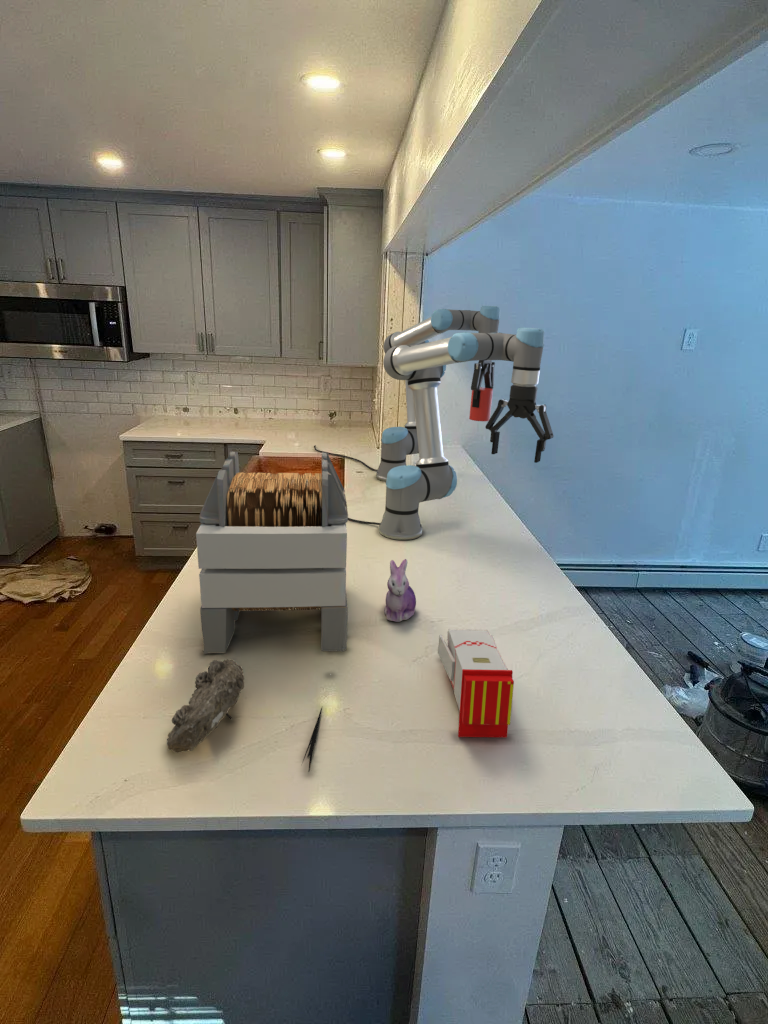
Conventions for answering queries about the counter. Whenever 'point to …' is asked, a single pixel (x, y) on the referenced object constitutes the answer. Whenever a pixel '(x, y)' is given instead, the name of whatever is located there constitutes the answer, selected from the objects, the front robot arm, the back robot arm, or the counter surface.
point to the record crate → (273, 550)
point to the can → (482, 406)
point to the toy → (478, 682)
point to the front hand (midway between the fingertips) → (515, 457)
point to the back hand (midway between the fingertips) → (480, 405)
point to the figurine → (399, 594)
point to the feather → (313, 740)
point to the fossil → (206, 705)
